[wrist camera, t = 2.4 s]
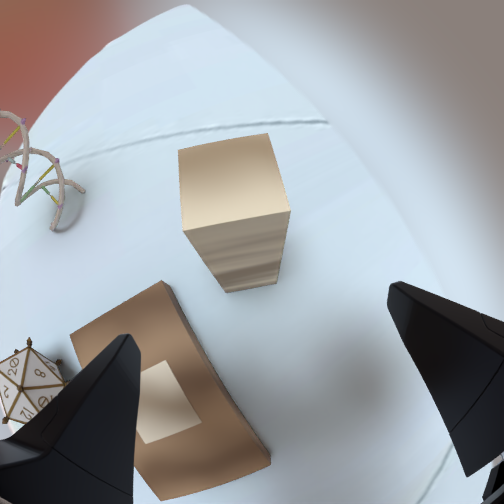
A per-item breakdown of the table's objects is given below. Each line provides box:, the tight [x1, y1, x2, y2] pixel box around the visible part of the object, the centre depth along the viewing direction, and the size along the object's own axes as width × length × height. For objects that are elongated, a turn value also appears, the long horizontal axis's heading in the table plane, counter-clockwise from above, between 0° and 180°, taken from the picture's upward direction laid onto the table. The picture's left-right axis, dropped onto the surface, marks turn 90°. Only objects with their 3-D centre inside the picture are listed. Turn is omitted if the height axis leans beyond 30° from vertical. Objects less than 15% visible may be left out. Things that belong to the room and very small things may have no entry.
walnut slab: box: [70, 280, 271, 501], centre depth 17 cm, size 16×10×2 cm, turn 30°
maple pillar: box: [178, 133, 291, 293], centre depth 16 cm, size 4×4×12 cm
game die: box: [0, 337, 70, 424], centre depth 15 cm, size 9×8×10 cm
